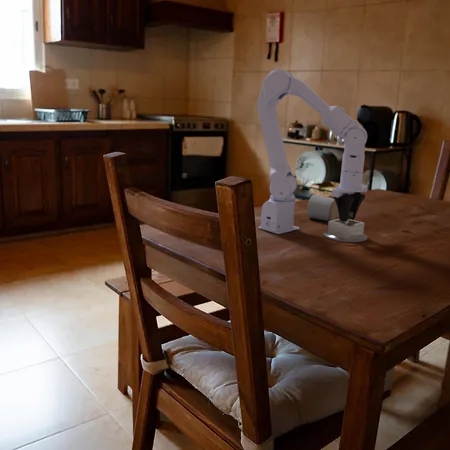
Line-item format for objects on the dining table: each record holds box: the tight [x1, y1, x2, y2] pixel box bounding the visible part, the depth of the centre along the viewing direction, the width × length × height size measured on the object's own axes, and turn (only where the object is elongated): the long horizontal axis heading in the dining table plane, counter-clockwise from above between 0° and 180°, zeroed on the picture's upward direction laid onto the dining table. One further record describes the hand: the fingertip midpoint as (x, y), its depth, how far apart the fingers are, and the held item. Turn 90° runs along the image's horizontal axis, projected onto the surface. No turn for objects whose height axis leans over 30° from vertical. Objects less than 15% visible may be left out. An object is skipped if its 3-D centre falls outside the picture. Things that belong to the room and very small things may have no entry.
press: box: [323, 218, 368, 244], centre depth 142 cm, size 12×12×4 cm
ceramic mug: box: [306, 193, 339, 222], centre depth 161 cm, size 11×8×8 cm
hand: (346, 219), depth 141 cm, fingers closed on plunger, 3 cm apart
